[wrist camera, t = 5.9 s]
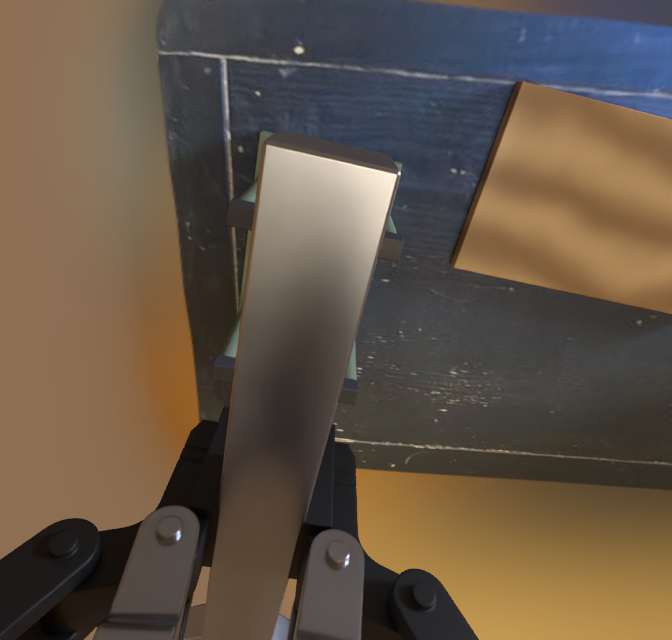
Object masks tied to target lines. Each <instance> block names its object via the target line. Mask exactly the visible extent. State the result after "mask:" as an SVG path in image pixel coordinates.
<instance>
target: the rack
mask: <svg viewBox="0 0 672 640" xmlns="http://www.w3.org/2000/svg"><path fill="white" fill-rule="evenodd" d="M272 134H274V133H272V132H268V131H261V132H260V135H259V143H258V151H257V160H256V168H255V176H254V183H253V184H252V185H251V186H250V187H249V188H248V189H247V190H246V191H245V192H244V193H243V194H242V195H241V197H240V198H239V199H236V198H233V199H232V200H231V201H230V202H229V203H228V208H227V218H226V225H227V226H230V227H235V228H240V229H244V230H248V235H247V243H246V252H245V260H244V268H243V277H242V285H241V294H240V302H239V310H238V316H237V318H236V320H235V323H234V325H233V327H232V329H231V331H230V333H229V335H228V338H227V340H226V342H225V344H224V346H223V348H222V351H221V353H220V354H218V355H217V357H216V359H215V361H214V363H213V369H212V379H213V380H218V381H224V382H229V383H233V379H234V370H235V362H236V354H237V346H238V338H239V330H240V322H241V313H242V305H243V297H244V289H245V281H246V273H247V264H248V256H249V248H250V240H251V232H252V224H253V216H254V207H255V199H256V191H257V183H258V175H259V167H260V159H261V150H262V144H263V142H264V140H266V139H267V138H268V137H270V136H271V135H272ZM394 163H395V164H396V166H397V167H398V169H399V170H400V172H401V169H402V164H401V163H400V162H397V161H394ZM403 244H404V240H403V237H402V235H401V234H397V232H396V229H395V227H394V224H393V221H392V218H391V215H390V217H389V220H388V224H387V227H386V231H385V235H384V238H383V242H382V245H381V249H380V253H379V256H378V258H381V259H386V260H391V261H396V262H398V261H399V257H400V254H401V251H402V247H403ZM358 393H359V383H358V380H357V378H356V354H355V342H354V346H353V350H352V353H351V357H350V360H349V364H348V368H347V371H346V375H345V378H344V382H343V386H342V389H341V393H340V396H339V400H338V402H340V403H346V404H351V405H355V403H356V399H357V396H358Z"/></svg>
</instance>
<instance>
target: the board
mask: <svg viewBox="0 0 672 640" xmlns="http://www.w3.org/2000/svg"><path fill="white" fill-rule="evenodd" d="M451 264H452V266H453V267H454V268H457V269H462V270H466V271H471V272H476V273H480V274H485V275H490V276H494V277H499V278H504V279H509V280H513V281H518V282H523V283H527V284H532V285H537V286H541V287H546V288H551V289H555V290H560V291H565V292H570V293H574V294H579V295H584V296H588V297H593V298H598V299H602V300H607V301H612V302H617V303H621V304H626V305H631V306H635V307H640V308H645V309H649V310H654V311H659V312H663V313H668V314H672V119H669V118H665V117H661V116H657V115H653V114H649V113H645V112H641V111H637V110H634V109H630V108H626V107H622V106H618V105H614V104H610V103H606V102H602V101H598V100H595V99H591V98H587V97H583V96H579V95H575V94H571V93H567V92H563V91H559V90H555V89H552V88H548V87H544V86H540V85H536V84H532V83H528V82H524V81H518V82H516V84H515V87H514V90H513V93H512V95H511V98H510V101H509V103H508V106H507V109H506V112H505V114H504V117H503V120H502V123H501V125H500V128H499V131H498V134H497V136H496V139H495V142H494V145H493V147H492V150H491V153H490V156H489V158H488V161H487V164H486V166H485V169H484V172H483V175H482V177H481V180H480V183H479V186H478V188H477V191H476V194H475V197H474V199H473V202H472V205H471V208H470V210H469V213H468V216H467V218H466V221H465V224H464V227H463V229H462V232H461V235H460V238H459V240H458V243H457V246H456V249H455V251H454V254H453V257H452V260H451Z"/></svg>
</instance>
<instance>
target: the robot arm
mask: <svg viewBox="0 0 672 640" xmlns="http://www.w3.org/2000/svg"><path fill="white" fill-rule="evenodd" d="M229 411H230V406H224V408H223V411H222V413H221V416H220V419H219V422H214V421H208V420H203V421H201V422H200V423H199V424H198V425H197V426H196V427H195V428H194V429H193V430H192V431H191V432H190V435H189V437H188V439H187V441H186V444H185V447H184V448H183V451H182V453H181V455H180V459H179V460H178V462H177V464H176V467H175V469H174V471H173V474H172V476H171V478H170V481H169V483H168V485H167V487H166V490H165V492H164V494H163V497H162V499H161V501H160V503H159V505H158V507H157V508H156V509H155V511H153V512H152V513H151V514H149V515H148V516H147V517H146V518H145V519H144V520H143V521H141V522H139V523H137V524H135V525H132V526H129V527H124V528H118V529H112V530H105V531H98V529H97V527H96V526H95V525H94V524H93V523H91V522H90V521H87V520H85V519H79V518H73V519H65V520H62V521H59V522H56V523H54V524H52V525H50V526H48V527H47V528H45V529H43V530H42V531H41V532H39V533H38V534H36V535H35V536H34V537H32V538H31V539H29V540H28V541H26V542H25V543H23V544H22V545H21V546H19V547H18V548H17V549H15V550H14V551H12V552H11V553H9V554H8V555H7V556H5V557H4V558H2V559H1V560H0V640H84V639H85V638H86V636H88V635H89V634H90V632H92V631H93V630H94V628H95V627H98V628H97V630H96V632H95V635H94V637H93V640H184V638H185V633H186V628H187V623H188V618H189V614H190V609H191V604H192V598H193V593H194V591H195V588H196V586H197V582H198V579H199V575H200V572H201V568H202V566H206V567H211V565H212V557H213V549H214V541H215V533H216V525H217V517H218V501H219V493H220V484H221V476H222V468H223V460H224V452H225V444H226V436H227V427H228V419H229ZM355 474H356V463H355V457H354V455H353V453H352V451H351V449H350V447H349V445H348V444H343V443H338V442H335V425H333V424H332V425H331V429H330V432H329V436H328V440H327V443H326V447H325V450H324V454H323V457H322V461H321V465H320V468H319V472H318V475H317V479H316V483H315V486H314V490H313V493H312V497H311V501H310V504H309V508H308V511H307V515H306V519H305V521H304V523H303V526H302V530H301V533H300V537H299V540H298V544H297V548H296V551H295V555H294V558H293V562H292V566H291V569H290V573H289V577H288V578H291V579H297V586H296V596H295V600H294V603H293V607H292V611H291V617H290V622H289V628H288V633H287V639H286V640H479V639H478V638H477V636H476V635H475V634H474V632H473V630H472V629H471V627H470V626H469V624H468V623H467V621H466V620H465V618H464V617H463V615H462V614H461V612H460V610H459V609H458V607H457V606H456V604H455V603H454V601H453V600H452V599H451V597H450V595H449V594H448V592H447V591H446V589H445V588H444V587H443V585H442V584H441V582H440V581H439V580H438V579H437V578H435V577H434V576H433V575H432V574H430V573H428V572H426V571H424V570H421V569H408V570H405V571H404V572H402V573H401V574H400V575H399V574H397V573H395V572H394V571H391V570H389V569H387V568H385V567H383V566H381V565H380V564H378V563H376V562H375V561H374V560H372V559H371V558H370V557H369V556H368V555H367V553H366V552H365V551H364V550H363V548H362V546H361V544H360V541H359V537H358V524H357V496H356V495H357V494H356V476H355Z"/></svg>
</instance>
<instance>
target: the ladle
mask: <svg viewBox="0 0 672 640" xmlns="http://www.w3.org/2000/svg"><path fill="white" fill-rule="evenodd" d="M400 177H401V173H400V170H399V169H398V167H397V166H396V164H395V163H394V161H393V159H392V158H391V156H389V155H388V154H384V153H380V152H376V151H371V150H367V149H363V148H358V147H354V146H350V145H346V144H341V143H337V142H333V141H328V140H324V139H320V138H316V137H311V136H307V135H303V134H298V133H294V132H290V131H285V130H278V131H277V132H275V133H274V134H272V135H271V136H270V137H268V138H267V139H266V140H264V142H263V144H262V150H261V159H260V167H259V175H258V183H257V191H256V199H255V207H254V216H253V224H252V232H251V240H250V248H249V256H248V264H247V273H246V281H245V289H244V297H243V305H242V313H241V322H240V330H239V338H238V346H237V354H236V362H235V370H234V379H233V387H232V395H231V403H230V411H229V419H228V427H227V436H226V444H225V452H224V460H223V468H222V476H221V484H220V493H219V501H218V517H217V525H216V533H215V541H214V549H213V557H212V565H211V567H210V574H209V583H208V591H207V599H206V604H202V605H197V606H194V607H191V609H190V614H189V618H188V623H187V628H186V633H185V638H184V640H286V639H287V633H288V628H289V622H290V620H289V619H287V618H286V617H284V616H282V615H280V614H279V612H280V609H281V605H282V601H283V598H284V594H285V591H286V587H287V583H288V580H289V578H288V577H289V573H290V569H291V566H292V562H293V558H294V555H295V551H296V548H297V544H298V540H299V537H300V533H301V530H302V526H303V523H304V521H305V519H306V515H307V511H308V508H309V504H310V501H311V497H312V493H313V490H314V486H315V483H316V479H317V475H318V472H319V468H320V465H321V461H322V457H323V454H324V450H325V447H326V443H327V440H328V436H329V432H330V429H331V425H332V422H333V418H334V414H335V411H336V407H337V404H338V400H339V396H340V393H341V389H342V386H343V382H344V378H345V375H346V371H347V368H348V364H349V360H350V357H351V353H352V350H353V346H354V342H355V339H356V335H357V332H358V328H359V324H360V321H361V317H362V314H363V310H364V306H365V303H366V299H367V296H368V292H369V289H370V285H371V281H372V278H373V274H374V271H375V267H376V263H377V260H378V256H379V253H380V249H381V245H382V242H383V238H384V235H385V231H386V227H387V224H388V220H389V217H390V213H391V209H392V206H393V202H394V199H395V195H396V191H397V188H398V184H399V181H400Z"/></svg>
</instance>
